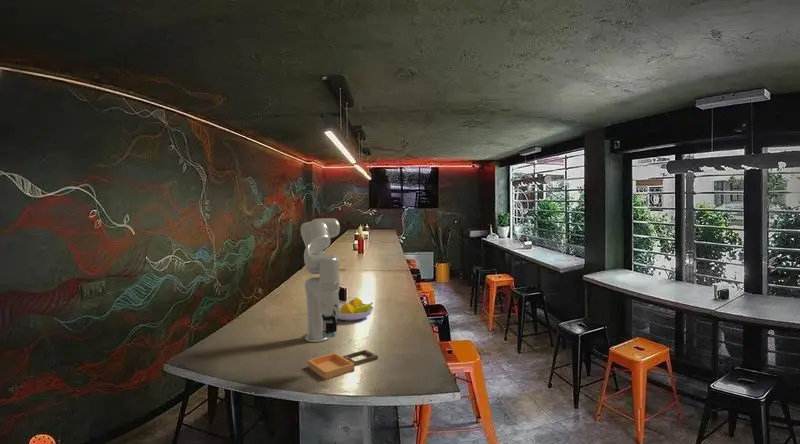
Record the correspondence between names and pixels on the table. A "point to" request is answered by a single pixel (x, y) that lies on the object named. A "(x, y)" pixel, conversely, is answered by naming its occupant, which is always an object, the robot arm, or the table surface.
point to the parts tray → (330, 366)
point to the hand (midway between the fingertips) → (330, 330)
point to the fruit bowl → (354, 310)
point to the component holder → (362, 361)
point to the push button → (327, 327)
